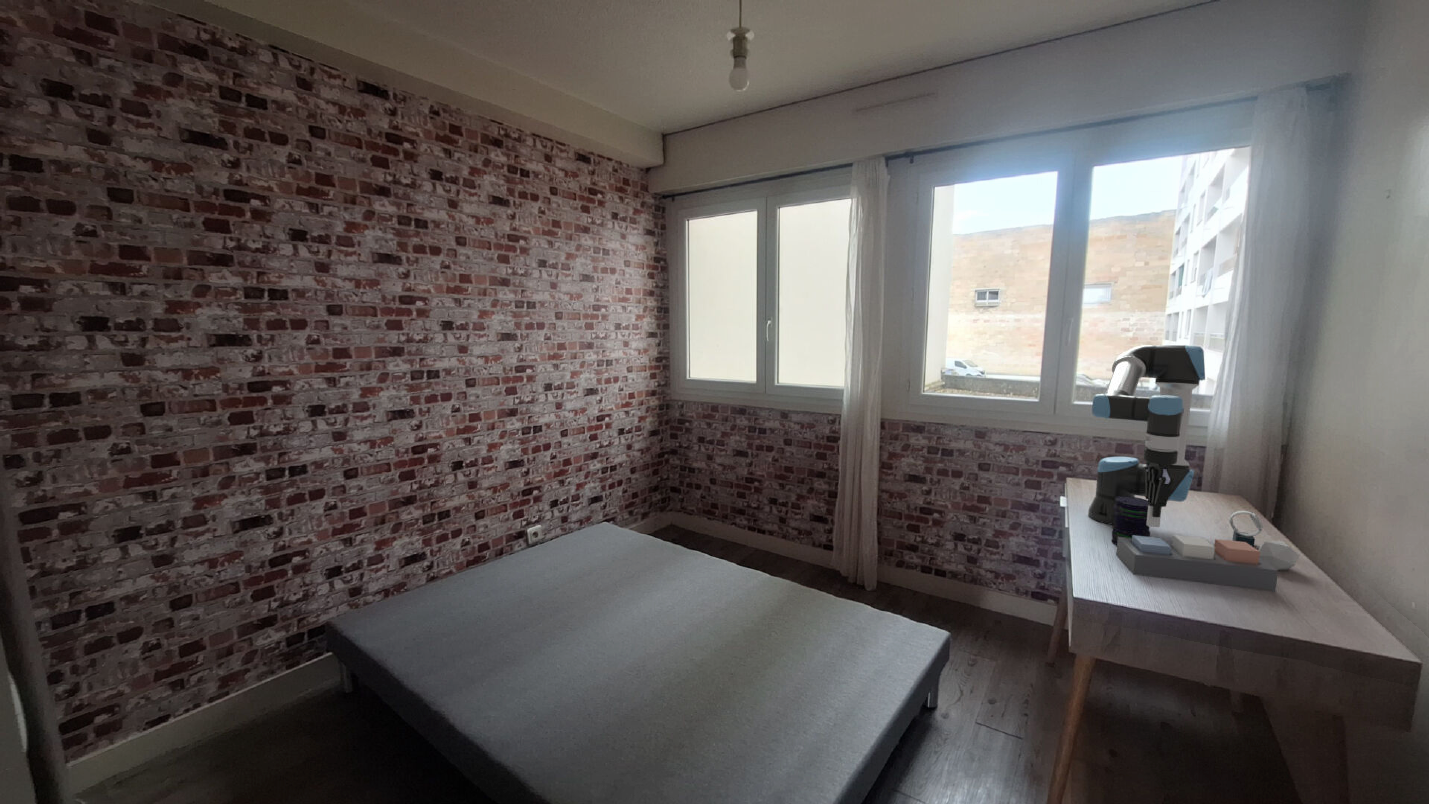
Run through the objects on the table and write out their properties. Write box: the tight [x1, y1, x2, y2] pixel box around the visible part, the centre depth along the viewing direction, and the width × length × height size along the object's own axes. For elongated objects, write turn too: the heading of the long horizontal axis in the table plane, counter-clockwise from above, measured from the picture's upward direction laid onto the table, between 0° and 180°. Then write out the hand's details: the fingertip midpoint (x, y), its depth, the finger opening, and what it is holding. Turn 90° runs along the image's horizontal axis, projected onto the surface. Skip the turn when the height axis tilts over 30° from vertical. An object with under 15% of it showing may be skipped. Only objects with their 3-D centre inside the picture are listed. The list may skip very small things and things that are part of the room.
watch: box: [1228, 510, 1264, 548], centre depth 176 cm, size 6×8×11 cm
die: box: [1257, 540, 1301, 571], centre depth 159 cm, size 8×9×10 cm
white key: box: [1171, 534, 1215, 559], centre depth 157 cm, size 7×7×5 cm
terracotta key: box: [1213, 538, 1260, 564], centre depth 153 cm, size 7×7×5 cm
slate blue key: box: [1132, 535, 1171, 555], centre depth 160 cm, size 7×7×5 cm
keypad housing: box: [1115, 537, 1279, 592], centre depth 157 cm, size 14×32×6 cm, turn 70°
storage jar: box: [1111, 496, 1151, 546], centre depth 176 cm, size 10×10×15 cm
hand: (1152, 526), depth 160 cm, fingers closed
